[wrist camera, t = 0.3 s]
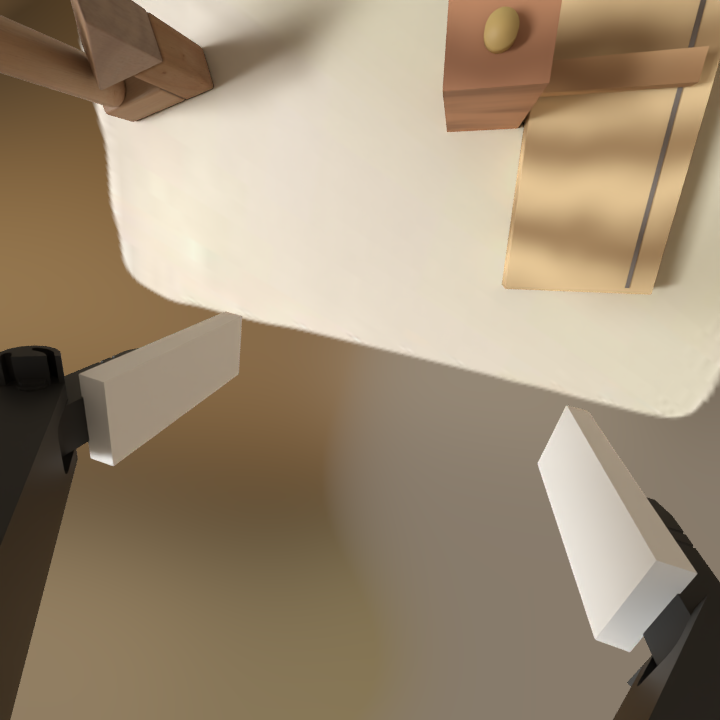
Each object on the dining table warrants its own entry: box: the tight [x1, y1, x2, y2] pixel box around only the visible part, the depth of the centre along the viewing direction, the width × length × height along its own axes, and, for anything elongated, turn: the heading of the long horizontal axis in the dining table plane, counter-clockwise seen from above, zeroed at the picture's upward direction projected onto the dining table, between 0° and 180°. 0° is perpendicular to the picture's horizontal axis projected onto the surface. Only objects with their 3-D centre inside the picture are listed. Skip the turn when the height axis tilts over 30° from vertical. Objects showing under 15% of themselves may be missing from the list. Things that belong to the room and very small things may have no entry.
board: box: [502, 0, 720, 294], centre depth 30 cm, size 24×12×3 cm, turn 0°
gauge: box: [443, 0, 709, 132], centre depth 25 cm, size 5×17×13 cm, turn 90°
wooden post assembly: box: [0, 0, 213, 122], centre depth 29 cm, size 4×11×18 cm, turn 103°
